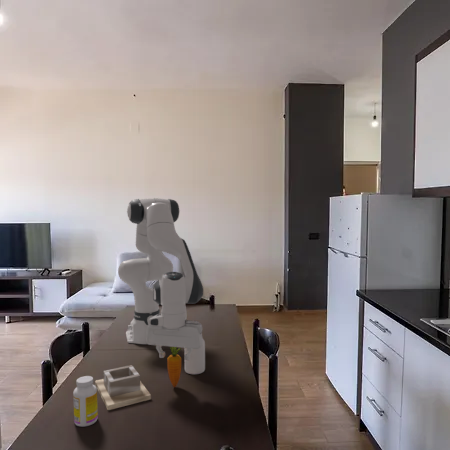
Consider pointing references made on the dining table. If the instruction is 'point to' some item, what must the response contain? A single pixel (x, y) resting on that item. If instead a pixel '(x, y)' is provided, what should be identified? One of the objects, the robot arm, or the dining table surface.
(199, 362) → the pill bottle
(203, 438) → the dining table surface
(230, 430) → the dining table surface
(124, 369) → the anchor plate
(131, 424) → the dining table surface
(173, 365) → the carrot
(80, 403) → the supplement bottle
